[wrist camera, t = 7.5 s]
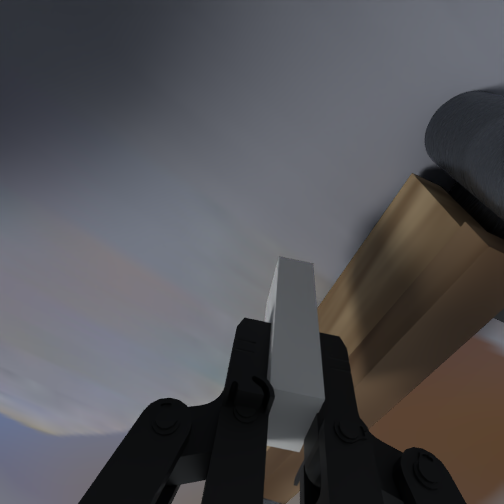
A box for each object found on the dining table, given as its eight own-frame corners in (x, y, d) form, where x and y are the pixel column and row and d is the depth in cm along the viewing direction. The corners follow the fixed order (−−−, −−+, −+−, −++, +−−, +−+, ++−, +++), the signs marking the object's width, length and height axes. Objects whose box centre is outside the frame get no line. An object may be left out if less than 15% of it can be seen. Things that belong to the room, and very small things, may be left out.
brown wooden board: (261, 382, 24) (248, 498, 18) (411, 165, 15) (488, 246, 9) (284, 391, 24) (280, 508, 18) (445, 181, 15) (544, 271, 9)
